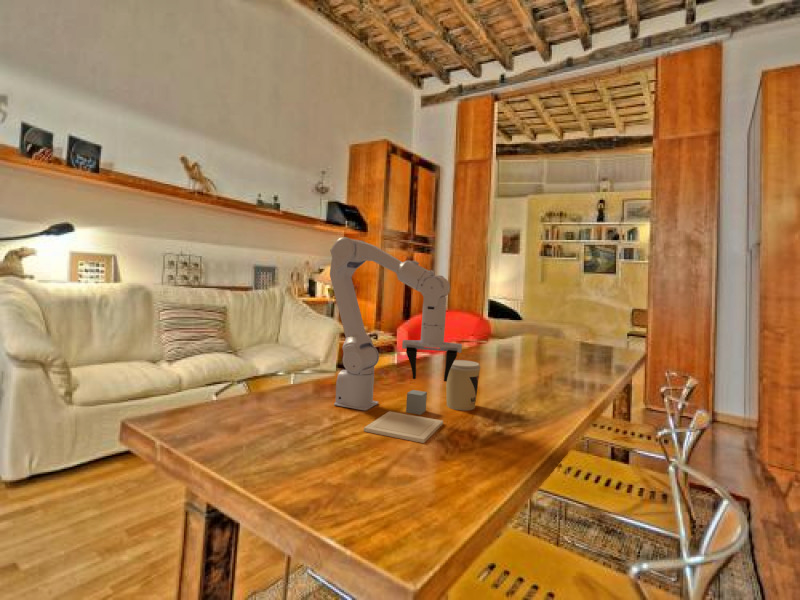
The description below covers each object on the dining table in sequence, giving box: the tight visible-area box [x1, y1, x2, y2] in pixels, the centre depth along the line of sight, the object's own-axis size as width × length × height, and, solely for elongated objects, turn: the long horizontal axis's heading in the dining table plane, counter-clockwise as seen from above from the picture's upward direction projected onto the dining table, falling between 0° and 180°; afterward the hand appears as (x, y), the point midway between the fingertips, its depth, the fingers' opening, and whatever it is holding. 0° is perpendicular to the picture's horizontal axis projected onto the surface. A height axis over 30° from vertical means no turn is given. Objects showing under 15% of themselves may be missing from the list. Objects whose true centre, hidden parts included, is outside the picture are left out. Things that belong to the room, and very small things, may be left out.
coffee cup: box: [445, 359, 481, 411], centre depth 121 cm, size 9×9×12 cm
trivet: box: [363, 410, 444, 444], centre depth 102 cm, size 14×14×1 cm
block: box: [405, 389, 428, 416], centre depth 114 cm, size 4×4×5 cm
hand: (429, 379), depth 109 cm, fingers open, 7 cm apart
